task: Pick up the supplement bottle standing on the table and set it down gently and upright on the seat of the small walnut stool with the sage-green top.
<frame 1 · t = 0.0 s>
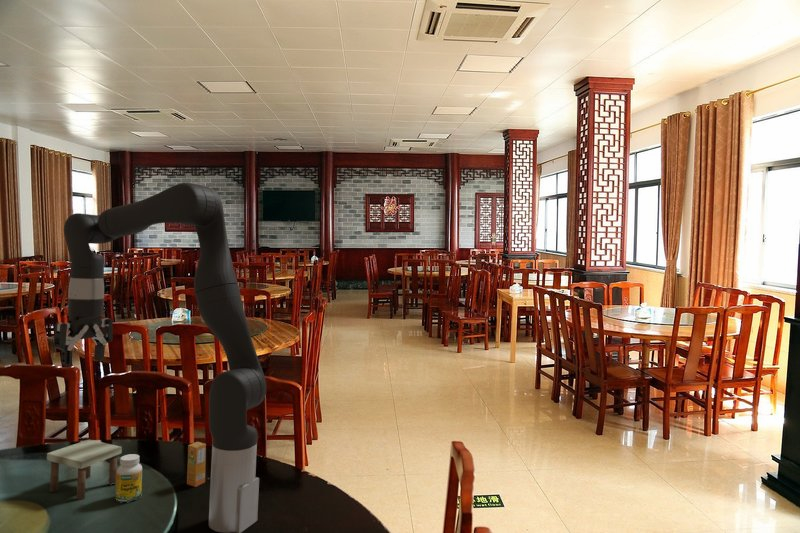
hand: (83, 363, 132), 29 cm above the table, tool pointing down, fingers open, 8 cm apart
supplement box: (195, 484, 135), on the table
supplement bottle: (128, 498, 125), on the table
stool: (83, 487, 130), on the table
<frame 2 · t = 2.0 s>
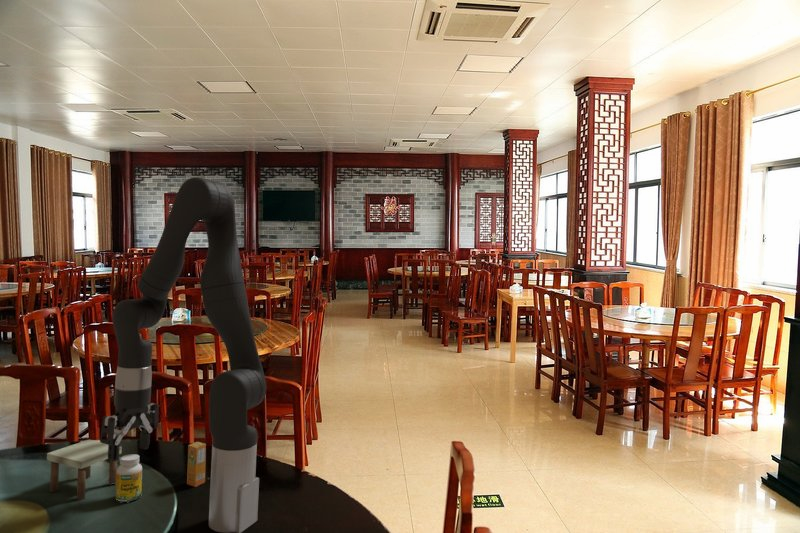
hand: (129, 454, 125), 10 cm above the table, tool pointing down, fingers open, 8 cm apart
nothing on the table moved.
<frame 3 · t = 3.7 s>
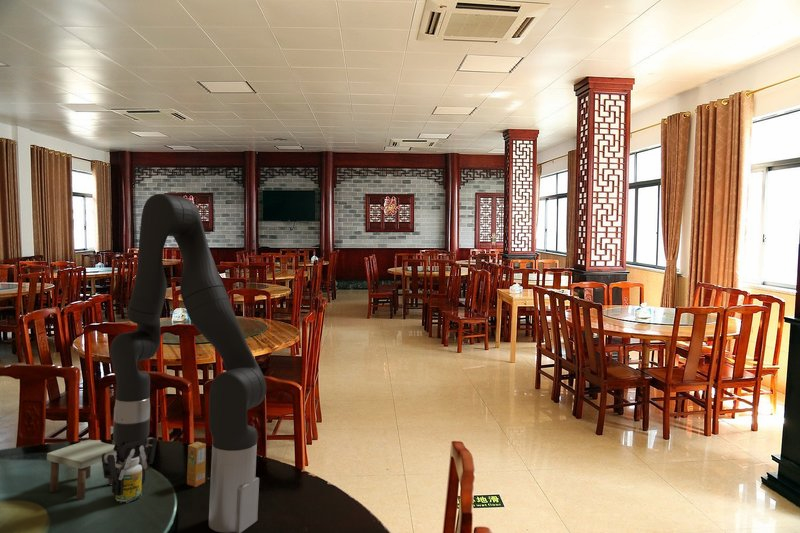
hand: (128, 489, 125), 2 cm above the table, tool pointing down, fingers closed on supplement bottle, 5 cm apart
supplement bottle: (128, 498, 125), on the table, touching gripper
everything else where it was.
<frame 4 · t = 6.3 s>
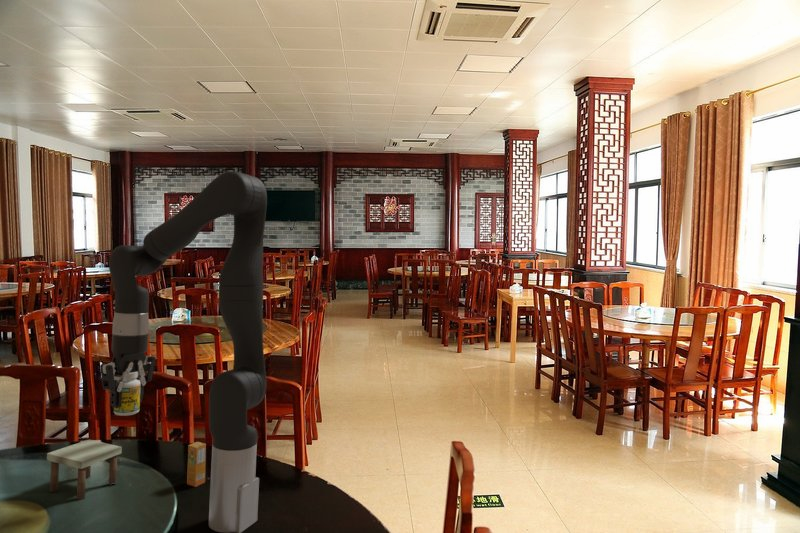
hand: (127, 403, 126), 22 cm above the table, tool pointing down, fingers closed on supplement bottle, 5 cm apart
supplement bottle: (126, 413, 126), point 19 cm above the table, touching gripper
everything else where it was.
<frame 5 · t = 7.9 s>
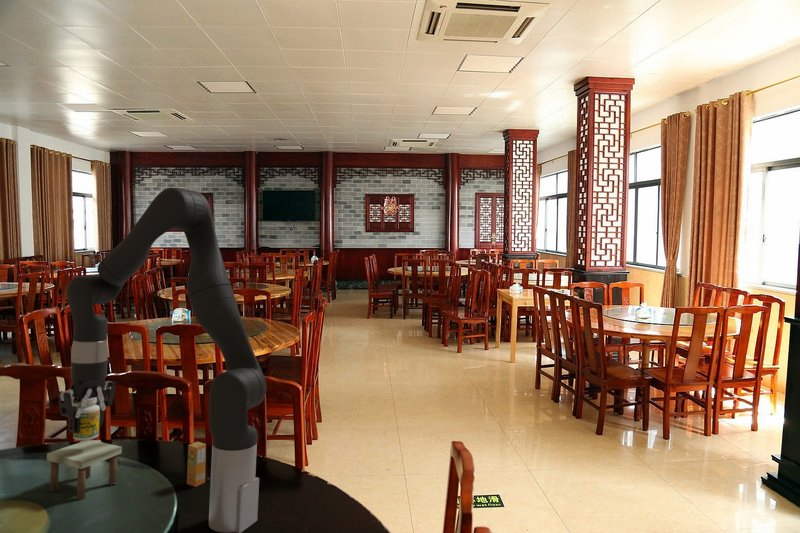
hand: (86, 428, 129), 14 cm above the table, tool pointing down, fingers closed on supplement bottle, 5 cm apart
supplement bottle: (85, 438, 129), point 12 cm above the table, touching gripper
everything else where it was.
when the fingers open (12 cm above the table, at t = 9.0 s): supplement bottle drops 1 cm, resting on stool.
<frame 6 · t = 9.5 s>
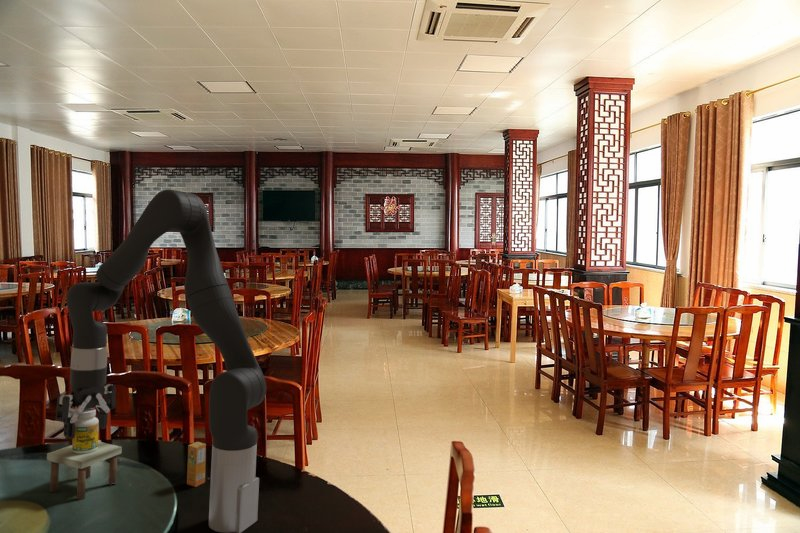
hand: (86, 433, 129), 13 cm above the table, tool pointing down, fingers open, 8 cm apart
supplement bottle: (84, 451, 129), point 9 cm above the table, touching stool
everything else where it was.
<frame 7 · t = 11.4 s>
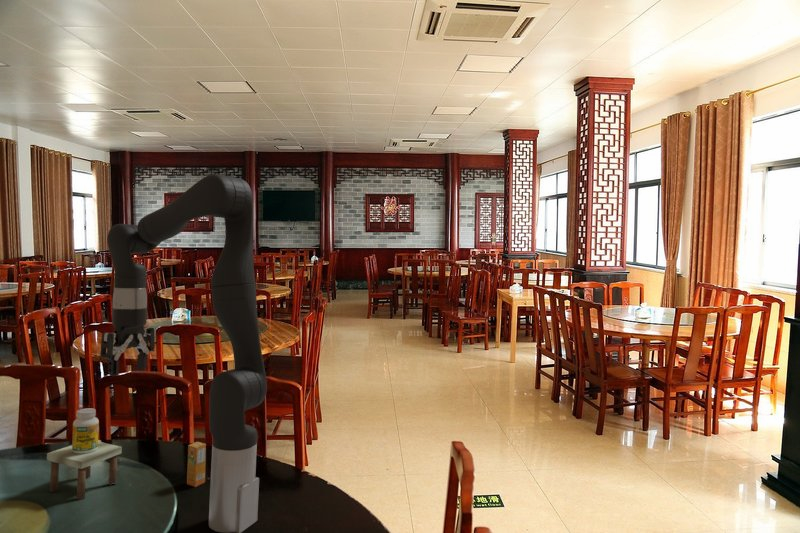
hand: (128, 372, 132), 27 cm above the table, tool pointing down, fingers open, 8 cm apart
nothing on the table moved.
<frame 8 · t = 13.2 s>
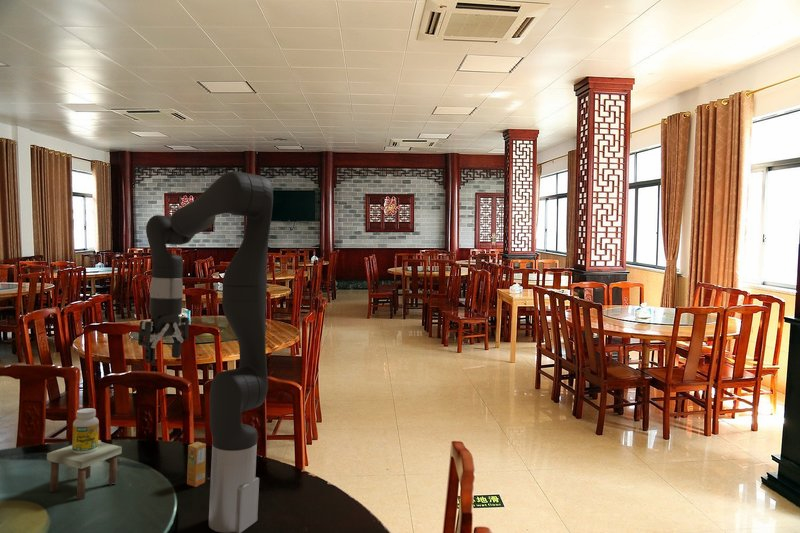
hand: (163, 360, 136), 30 cm above the table, tool pointing down, fingers open, 8 cm apart
nothing on the table moved.
at the end: supplement bottle 0.2 cm off-centre on the stool, point 8.8 cm above the stool's base; supplement bottle tilted 0°; the gripper is holding nothing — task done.
